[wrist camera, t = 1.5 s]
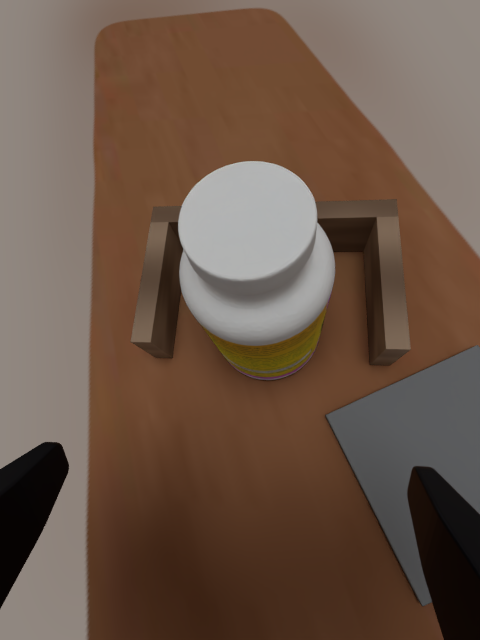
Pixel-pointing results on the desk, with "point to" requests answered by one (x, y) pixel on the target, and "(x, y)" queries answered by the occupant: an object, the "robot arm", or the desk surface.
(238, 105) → the desk surface
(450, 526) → the robot arm
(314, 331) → the supplement bottle
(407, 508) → the charcoal mat
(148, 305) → the frame
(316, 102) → the desk surface
